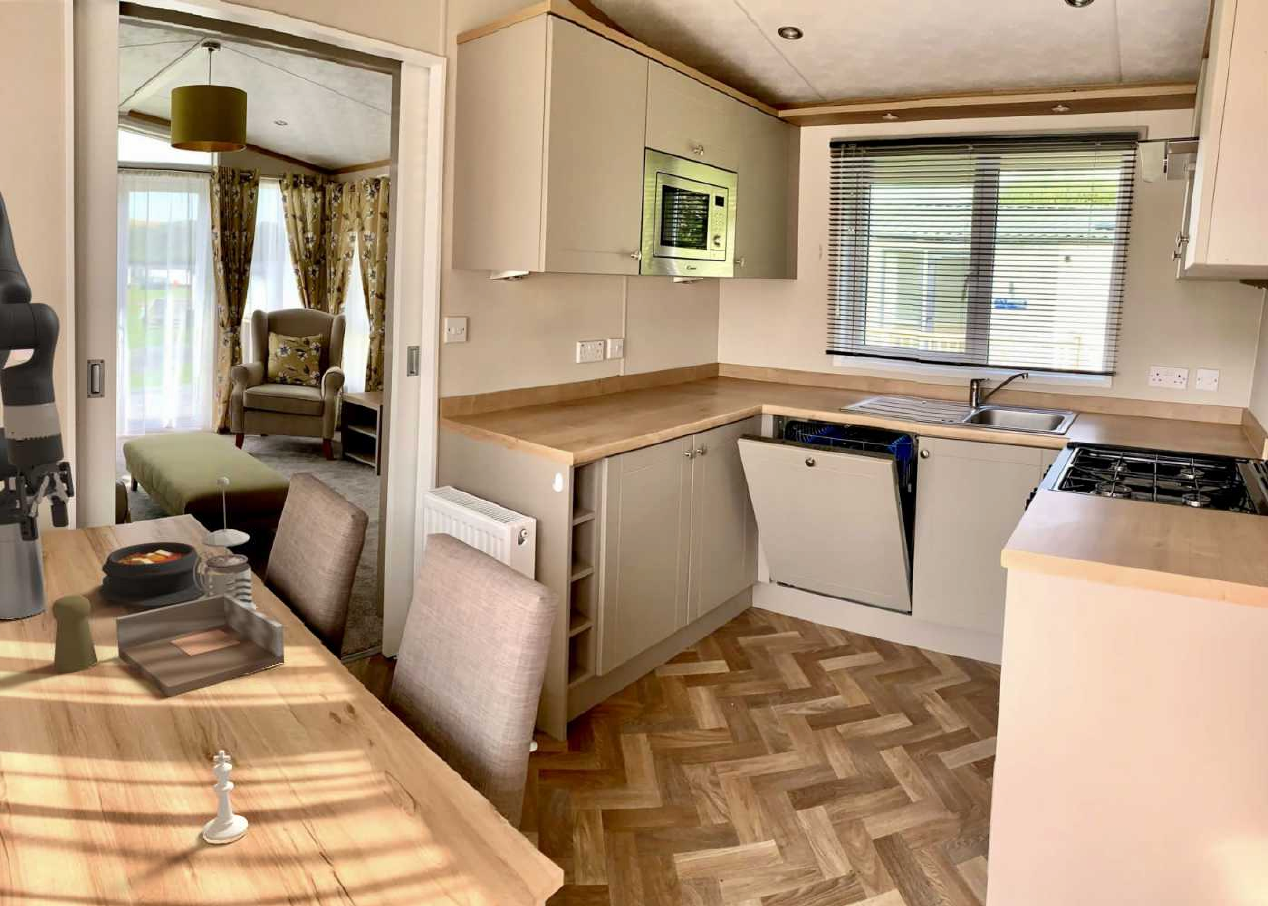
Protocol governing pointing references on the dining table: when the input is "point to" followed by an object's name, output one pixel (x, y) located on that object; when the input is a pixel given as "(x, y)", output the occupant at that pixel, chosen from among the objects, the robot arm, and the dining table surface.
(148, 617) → the board
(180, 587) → the casserole
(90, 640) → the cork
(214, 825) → the chess piece
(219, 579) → the french press
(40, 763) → the dining table surface
